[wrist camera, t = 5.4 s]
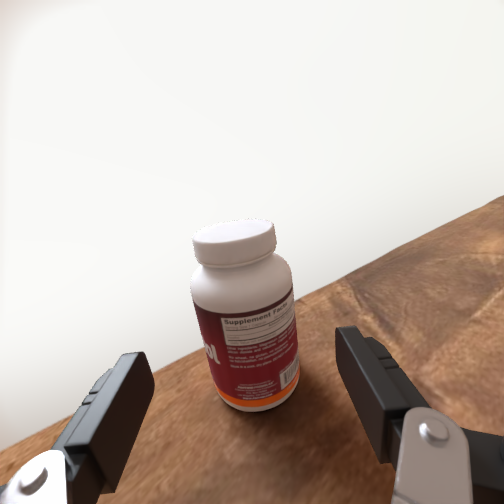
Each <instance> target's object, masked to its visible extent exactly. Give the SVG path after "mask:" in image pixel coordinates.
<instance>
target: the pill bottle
mask: <svg viewBox="0 0 504 504" xmlns="http://www.w3.org/2000/svg"><path fill="white" fill-rule="evenodd" d="M273 225H274V224H273V223H272V222H270V221H267V220H261V219H247V220H236V221H229V222H223V223H219V224H215V225H211V226H208V227H205V228H203V229H201V230H199V231H197V232H196V233H195V234H194V235H193V237H192V241H193V246H194V251H195V257H196V258H197V261H198V262H199V263H200V264H201V266H200V267H199V268H198V269H197V270H196V271H195V273H194V274H193V276H192V279H191V284H190V289H191V294H192V299H193V303H194V307H195V311H196V315H197V319H198V322H199V326H200V330H201V335H202V338H203V342H204V346H205V350H206V354H207V358H208V362H209V366H210V370H211V374H212V378H213V382H214V385H215V388H216V390H217V392H218V394H219V395H220V397H221V398H222V399H223V400H224V401H225V402H226V403H227V404H229V405H230V406H232V407H234V408H236V409H238V410H242V411H247V412H257V411H264V410H267V409H271V408H273V407H275V406H277V405H279V404H281V403H282V402H283V401H285V400H286V399H287V398H288V397H289V396H290V395H291V394H292V392H293V391H294V389H295V387H296V385H297V383H298V380H299V373H300V363H299V352H298V341H297V330H296V318H295V308H294V295H293V283H292V275H291V270H290V267H289V265H288V264H287V262H286V261H285V260H284V259H283V258H282V257H280V256H279V255H277V254H275V253H273V252H274V250H275V248H276V244H277V242H276V235H275V229H274V226H273Z"/></svg>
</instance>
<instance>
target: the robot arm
mask: <svg viewBox="0 0 504 504" xmlns="http://www.w3.org/2000/svg"><path fill="white" fill-rule="evenodd" d="M335 345H336V363H337V367H338V370H339V373H340V375H341V378H342V380H343V382H344V384H345V387H346V389H347V391H348V393H349V396H350V398H351V400H352V402H353V404H354V407H355V409H356V411H357V413H358V416H359V418H360V420H361V422H362V425H363V427H364V429H365V431H366V434H367V436H368V438H369V440H370V442H371V445H372V447H373V449H374V451H375V454H376V456H377V458H378V460H379V463H380V464H384V463H392V465H393V467H394V469H395V471H396V477H395V484H394V490H393V495H392V501H391V504H504V436H498V435H493V434H487V433H482V432H477V431H472V430H468V429H464V428H461V427H459V426H458V425H457V424H456V423H455V422H454V421H453V420H452V419H450V418H449V417H448V416H446V415H444V414H443V413H441V412H439V411H437V410H434V409H432V408H431V407H430V406H429V405H428V403H427V402H426V401H425V399H424V398H423V397H422V395H421V394H420V393H419V391H418V390H417V389H416V387H415V386H414V385H413V383H412V382H411V381H410V379H409V378H408V377H407V376H406V374H405V373H404V372H403V370H402V369H401V368H399V365H398V364H397V362H396V361H395V360H394V359H393V358H392V356H391V354H390V353H389V352H388V350H387V349H386V348H385V346H384V345H382V344H381V343H380V342H378V341H377V340H375V339H374V338H372V337H367V338H364V337H363V336H362V334H361V333H360V331H359V330H358V328H357V327H356V326H346V327H338V328H336V330H335ZM154 387H155V383H154V378H153V375H152V372H151V369H150V366H149V363H148V361H147V358H146V355H145V353H144V352H134V353H126V354H123V355H122V356H121V357H120V358H119V360H118V362H117V363H116V365H115V366H114V368H112V369H109V370H108V371H107V372H106V373H104V375H102V376H101V377H100V378H99V379H98V380H97V381H96V383H95V384H94V386H93V387H92V389H91V390H90V392H89V395H87V396H86V398H85V399H84V401H83V402H82V405H81V406H80V407H79V408H78V409H77V411H76V412H75V414H74V415H73V417H72V418H71V420H70V421H69V423H68V424H67V426H66V427H65V429H64V430H63V432H62V433H61V435H60V436H59V437H58V439H57V440H56V442H55V443H54V445H53V446H52V448H51V449H50V451H47V452H44V453H42V454H40V455H38V456H36V457H35V458H33V459H32V460H30V461H29V462H28V463H26V464H25V465H24V466H23V467H22V468H20V469H19V470H18V471H17V472H16V474H15V475H14V476H13V477H12V478H11V479H10V481H9V482H8V483H7V484H5V485H2V486H0V504H96V503H97V501H98V498H99V496H100V494H108V493H115V490H116V488H117V485H118V483H119V480H120V478H121V475H122V473H123V470H124V468H125V465H126V463H127V460H128V457H129V455H130V452H131V450H132V447H133V445H134V442H135V440H136V437H137V435H138V432H139V430H140V427H141V424H142V422H143V419H144V417H145V414H146V412H147V409H148V407H149V404H150V402H151V399H152V397H153V393H154Z"/></svg>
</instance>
